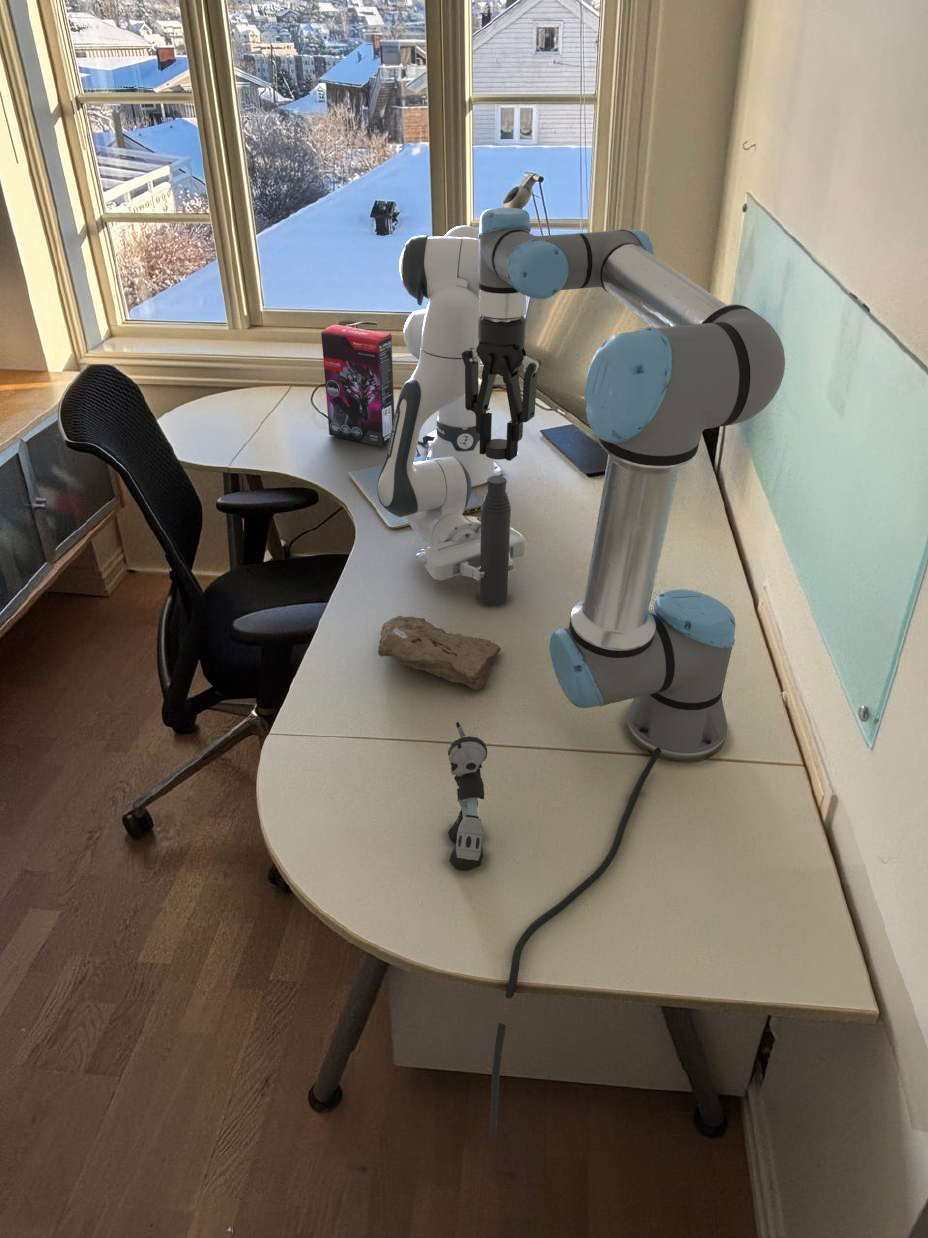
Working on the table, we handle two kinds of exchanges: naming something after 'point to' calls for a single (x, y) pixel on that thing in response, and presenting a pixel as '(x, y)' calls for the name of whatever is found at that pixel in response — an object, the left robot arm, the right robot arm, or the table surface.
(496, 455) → the cap
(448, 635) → the stone
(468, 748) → the robot
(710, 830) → the table surface
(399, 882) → the table surface
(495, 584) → the bottle
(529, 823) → the table surface
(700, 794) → the table surface
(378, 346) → the graphics card box
